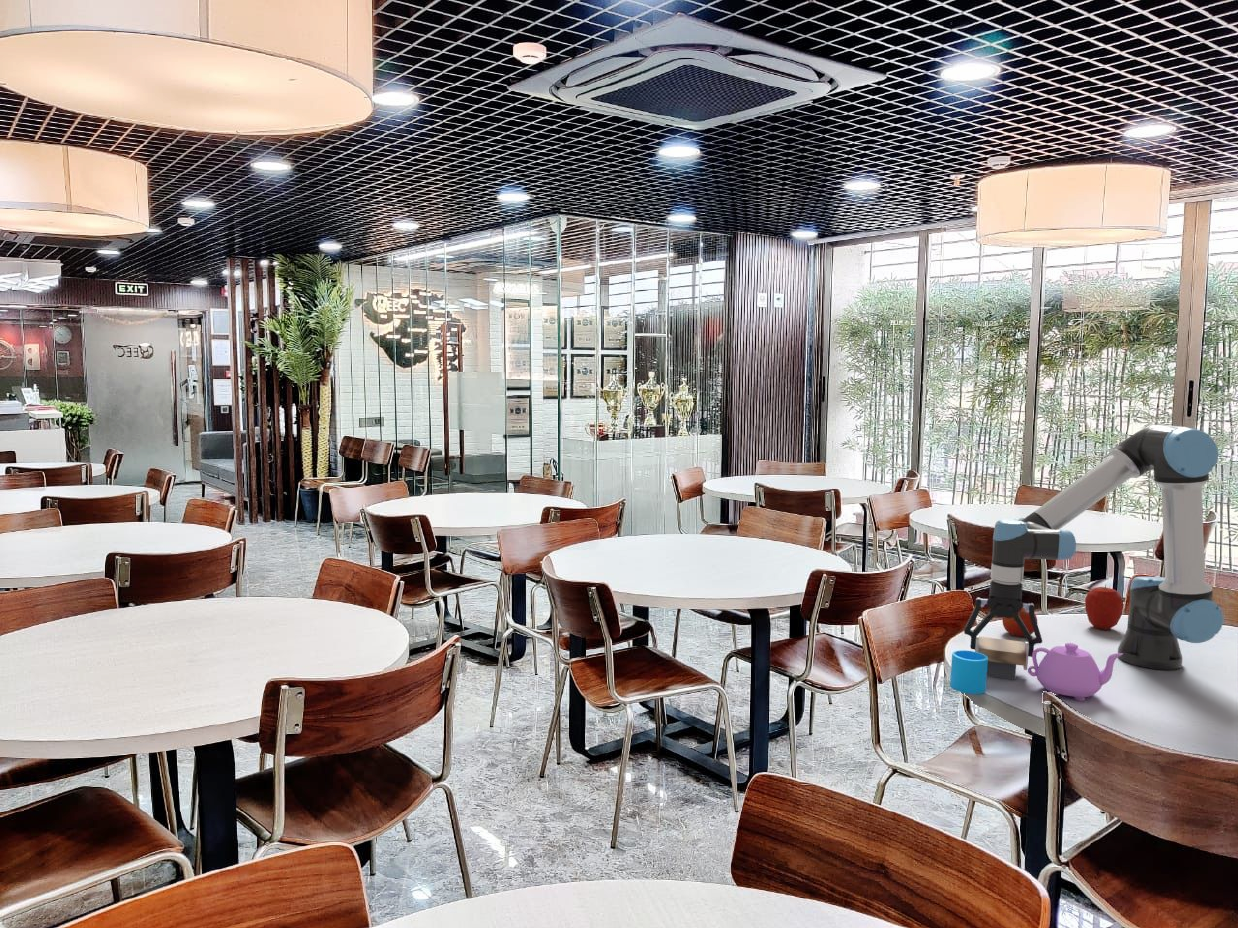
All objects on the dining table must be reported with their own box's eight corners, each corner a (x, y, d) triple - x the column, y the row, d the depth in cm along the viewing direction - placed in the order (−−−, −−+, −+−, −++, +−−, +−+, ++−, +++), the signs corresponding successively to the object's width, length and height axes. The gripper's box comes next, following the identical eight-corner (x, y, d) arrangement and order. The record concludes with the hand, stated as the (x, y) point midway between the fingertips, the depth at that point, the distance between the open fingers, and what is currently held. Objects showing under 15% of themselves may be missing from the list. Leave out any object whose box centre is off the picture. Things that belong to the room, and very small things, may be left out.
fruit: (1032, 631, 270) (1035, 598, 269) (1039, 640, 260) (1042, 607, 259) (998, 628, 272) (1000, 596, 271) (1004, 637, 263) (1006, 604, 261)
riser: (1014, 671, 233) (1015, 654, 233) (1015, 679, 227) (1016, 662, 226) (984, 667, 236) (986, 650, 235) (985, 675, 229) (986, 658, 229)
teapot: (1120, 693, 219) (1124, 644, 218) (1117, 711, 207) (1121, 660, 205) (1030, 677, 229) (1034, 630, 228) (1022, 693, 217) (1026, 644, 216)
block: (1023, 653, 234) (1024, 641, 234) (1025, 665, 224) (1026, 654, 223) (977, 647, 238) (978, 636, 238) (977, 659, 228) (978, 648, 227)
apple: (1126, 629, 274) (1130, 584, 273) (1113, 635, 268) (1117, 589, 266) (1090, 621, 282) (1094, 577, 281) (1077, 627, 275) (1081, 582, 274)
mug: (989, 695, 216) (992, 662, 215) (954, 692, 217) (956, 659, 216) (976, 678, 228) (979, 646, 227) (943, 675, 229) (945, 644, 228)
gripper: (1056, 582, 228) (1049, 667, 230) (957, 573, 236) (952, 654, 239) (1058, 589, 221) (1051, 676, 223) (956, 579, 229) (951, 662, 232)
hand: (1000, 664), depth 231 cm, fingers closed on block, 11 cm apart
